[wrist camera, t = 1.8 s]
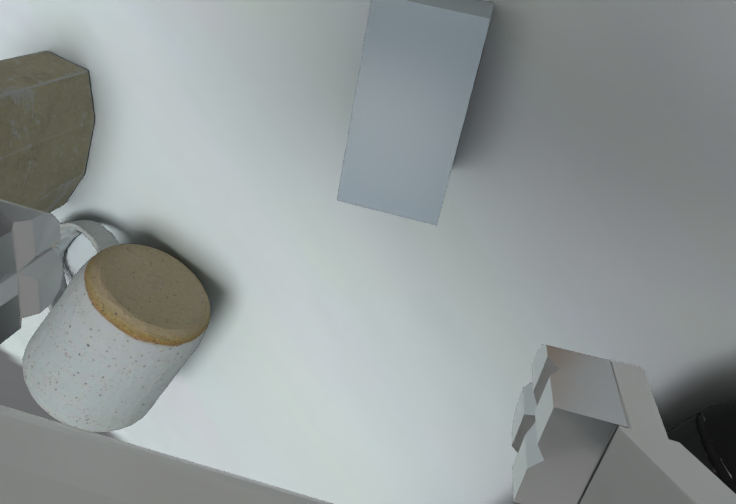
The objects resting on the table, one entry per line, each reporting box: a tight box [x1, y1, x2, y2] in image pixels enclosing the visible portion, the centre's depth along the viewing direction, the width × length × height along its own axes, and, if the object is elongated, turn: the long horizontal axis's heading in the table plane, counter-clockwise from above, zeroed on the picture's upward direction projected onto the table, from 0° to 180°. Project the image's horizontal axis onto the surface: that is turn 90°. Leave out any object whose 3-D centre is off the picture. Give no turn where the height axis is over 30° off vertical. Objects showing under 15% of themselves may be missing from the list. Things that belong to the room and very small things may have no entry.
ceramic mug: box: [23, 220, 210, 432], centre depth 33 cm, size 11×8×8 cm
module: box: [337, 0, 494, 225], centre depth 25 cm, size 4×8×7 cm, turn 170°
